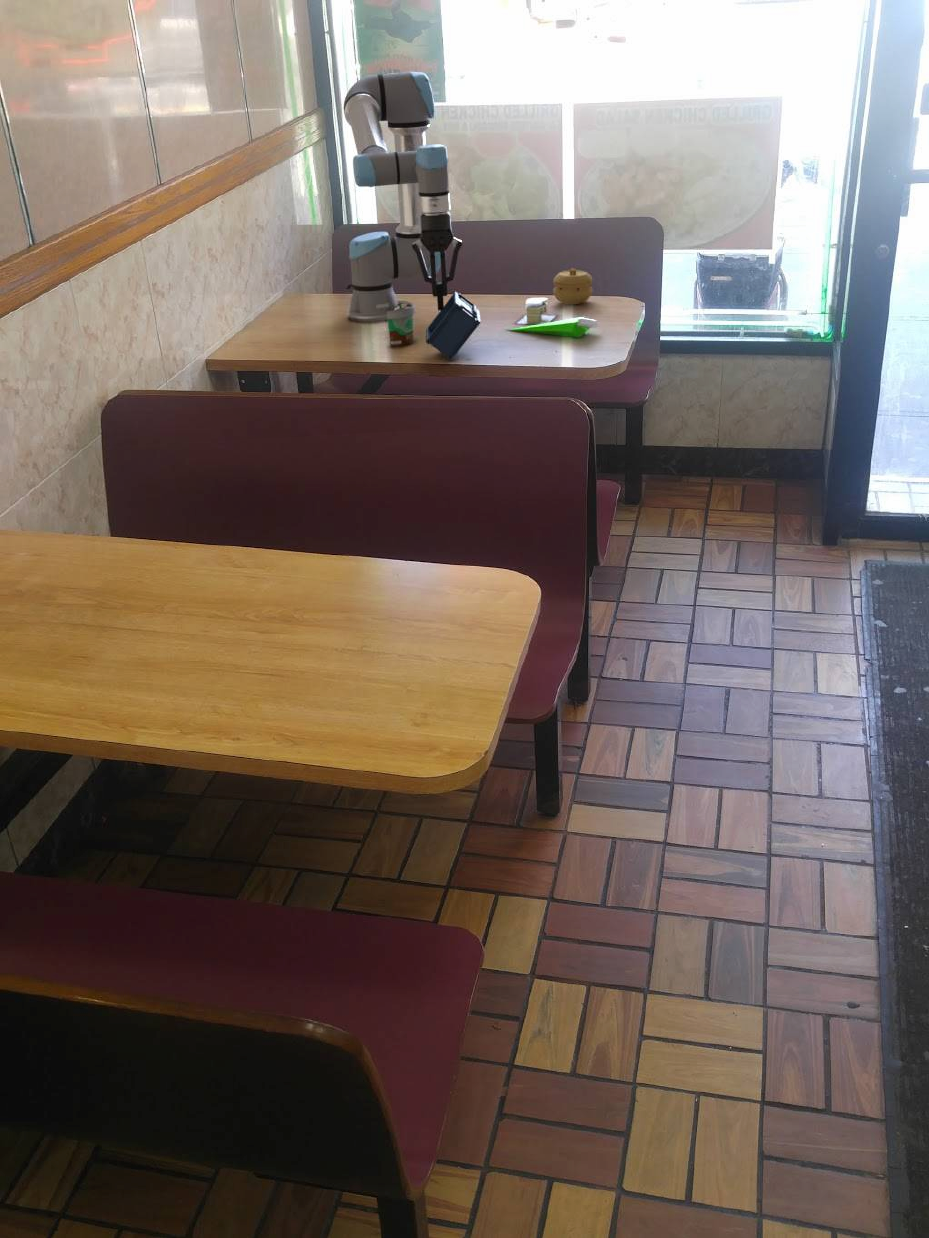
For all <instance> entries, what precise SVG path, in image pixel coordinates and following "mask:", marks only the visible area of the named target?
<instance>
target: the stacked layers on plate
mask: <svg viewBox="0 0 929 1238" xmlns="http://www.w3.org/2000/svg"><path fill="white" fill-rule="evenodd" d="M548 300H549V298H548V297H530V298H527V299H526V300H525V301H524V303H525V304H526V305H525V307H524V309H526V313H525V315H524V316H523V317H522V318H521V319H519V321H517V322H516V324H518V325H519V324H520V325H521V324H522V325H526V324H527V325H539V324H545V323H551V321H552V320H554V319H555V318H556V317H557V315H546V314H548V313H549V309H548V305H549V302H547V301H548Z"/></svg>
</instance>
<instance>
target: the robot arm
mask: <svg viewBox="0 0 929 1238" xmlns="http://www.w3.org/2000/svg"><path fill="white" fill-rule="evenodd" d="M434 100H435V99H434V94H433V89H432V85H431V81H430V80H429V77H428V75H427V74H426V73H424V72H421V71H404V72H402V71H401V72H394V73H381V74H379V73H378V74H377V73H375V74H369V75H366V76H364V77H362V78H360V79H359V80H357V81H356V82H355V83H354V84H353V85H352V86H351V87H350V88H349V90H348V92H347V93H346V95H345V97H344V101H343V114H344V118H345V121H346V122H347V124H348V125H349V126H350V127H351V131H352V136H353V139H354V144H355V148H356V153H357V154H356V155H354V156H353V158H352V168H353V169H352V170H353V176H354V183H355V185H356V186H357V187H359V188H361V187H363V188H366V187H368V188H374V187H381V186H383V187H384V186H395V185H397V196H398V208H399V209H398V210H399V224H398V226H397V227H396V228H395V236H390V235H389V233H388V231H375V232H374V231H373V232H368V233H365V234H362V235H361V234H360V235H359V236H356V237H354V238H352V239H351V240H350V242H349V245H348V247H349V256H348V258H349V260H350V269H351V283H350V284H348V285H347V287H346V288H347V289H350V288H352V295H351V300H350V306H349V311H348V315H349V319H350V320H351V321H354V322H358V323H380V322H388V319H387V311H391V310H392V308H393V307H396V306H397V305H398V301H399V300H398V298H397V296H396V293H395V291H394V287H393V280H395V279H406V278H417V277H418V278H419V277H422V278H423V280H424V282H426V283H430V284H431V292H432V297H433V298H435V297H436V301H437V311H441V310H444V306H445V304H444V297H447V296H448V283H450V282H452V281H454V279H455V274H456V267H457V263H458V256H459V252H460V250H461V248H462V247H463V241H462V239H458V238H456V236H455V237H454V233H453V231H452V216H451V213H450V210H451V196H450V183H449V181H450V180H449V158H448V149H447V147H446V145H444V144H436V143H435V144H433V143H432V144H426V131H427V130H428V128H429V127H430V126H431V123H430V120H431V119H434V118H435V117H436V109H435V108H436V107H435V101H434ZM381 122H387V128H388V130H389V131H390V132H392V134H393V139H394V151H393V152H391V151H390V152H389V151H388V148H387V144H386V141H385V137H384V134H383V130H382V125H381ZM451 243H452V248H453V250H452V257H451V262H450V267H449V271H448V272H449V273H448V275H447V262H446V259H447V258H446V251H447V250H448V248H449V247H450V245H451ZM440 270H441V271H440ZM439 271H440V272H441V281H437V274H438V273H439Z"/></svg>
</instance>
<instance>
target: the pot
mask: <svg viewBox="0 0 929 1238" xmlns="http://www.w3.org/2000/svg"><path fill="white" fill-rule="evenodd" d="M593 281H594V280H593V277H592V275H590V273H588V272H587V271H584V270H579V269H576V268H570V269H569V270H563V271H561V272H558V273H557V274H556V275H555V276H554V278H553V285H554V287H553V290H552V293H553V296H554V297H555V299H556V300H557V301H558V302H559V303H560V304H561V303H562V304H564V305H580V304H583V303H585V302H587V301H588V300H589V299H590V297H591V296H592V295H593V291H594V289H593V287H592V285H591V284H592V283H593Z"/></svg>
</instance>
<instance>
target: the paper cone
mask: <svg viewBox="0 0 929 1238" xmlns="http://www.w3.org/2000/svg"><path fill="white" fill-rule="evenodd" d="M598 323H599V322H598V320H596V319H591V318H587V316H580V317H574V318H568V319H563V320H556V321H552V322H551V321H550V322H549V323H545V324H532V325H528V326H523V327H516V328H510V329H509V331H514V332H522V333H523V332H524V333H533V334H542V335H551V336H560V337H570V338H579V339H580V338H581V337H582V336H583V335H584V334H586V333H587V332H588V331H589V330H590V329H596V328H597V327H599V324H598Z"/></svg>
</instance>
